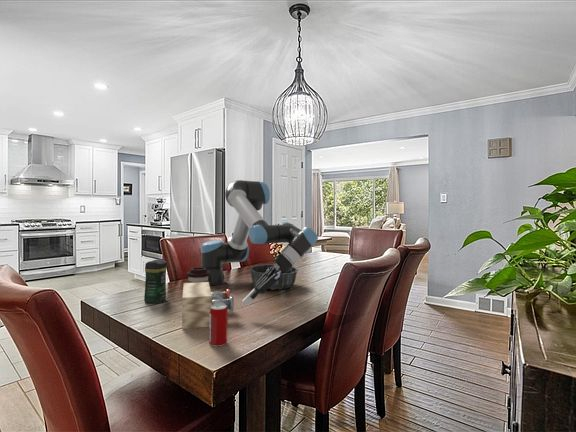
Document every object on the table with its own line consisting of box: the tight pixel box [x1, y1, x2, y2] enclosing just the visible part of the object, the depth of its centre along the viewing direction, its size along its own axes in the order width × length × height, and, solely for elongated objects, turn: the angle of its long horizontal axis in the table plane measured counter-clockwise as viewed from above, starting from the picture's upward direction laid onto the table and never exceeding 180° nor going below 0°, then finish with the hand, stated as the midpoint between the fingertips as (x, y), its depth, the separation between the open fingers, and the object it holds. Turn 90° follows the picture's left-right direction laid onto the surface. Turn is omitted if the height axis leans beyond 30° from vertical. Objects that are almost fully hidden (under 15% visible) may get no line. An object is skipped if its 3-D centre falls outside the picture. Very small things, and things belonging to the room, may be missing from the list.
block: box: [181, 282, 212, 330], centre depth 122 cm, size 10×22×11 cm, turn 17°
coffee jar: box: [143, 258, 168, 304], centre depth 142 cm, size 10×8×19 cm
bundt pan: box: [249, 263, 299, 291], centre depth 173 cm, size 26×26×10 cm
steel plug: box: [212, 295, 235, 313], centre depth 119 cm, size 12×6×6 cm, turn 107°
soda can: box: [208, 304, 229, 348], centre depth 99 cm, size 6×6×12 cm
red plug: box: [211, 288, 231, 300], centre depth 130 cm, size 12×6×6 cm, turn 107°
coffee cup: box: [186, 266, 210, 283], centre depth 142 cm, size 10×10×15 cm
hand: (244, 303), depth 122 cm, fingers closed
